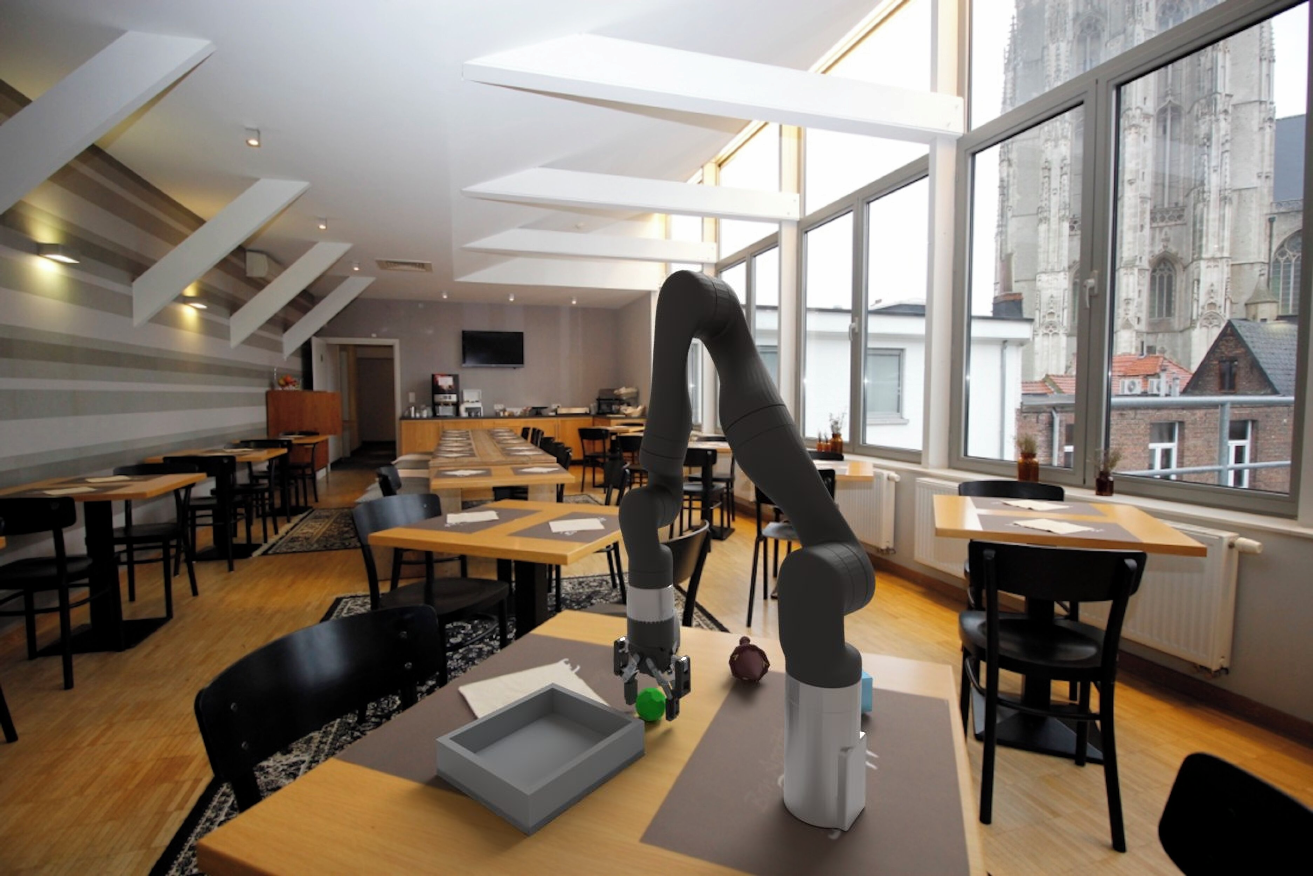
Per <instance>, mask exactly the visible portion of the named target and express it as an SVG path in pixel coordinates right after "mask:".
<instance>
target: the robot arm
mask: <svg viewBox="0 0 1313 876" xmlns="http://www.w3.org/2000/svg"><path fill="white" fill-rule="evenodd" d="M657 296H658V297H657V302H656V306H655V307H656V308H655V316H654V317H655V318H654V332H653V333H654V335H653V349H652V366H651V370H652V372H651V383H650V384H651V385H650V387H651V388H650V397H649V403H648V410H647V414H646V420H645V425H644V429H643V433H642V437H641V438H642V439H641V442H640V447H639V453H638V463H639V465H640V466H641V468H642V469H644V471H646V472H647V482H646V485H644V486H643V485H642V486H639V487H634V488H632V489H629V490H628V491H627V492H625V493H624V495H622V498H621V500H620V503H619V507H618V513H617V514H618V515H617V516H618V523H619V524H618V525H619V528H620V532H621V537H622V541H623V544H624V548H625V551H626V555H627V559H628V561H627V592H626V593H627V594H626V635H625V636H622V637H619V638H617V639H616V640H614V641H613V674H614V676H616V677H620V678H621V680H622V682H623V698H624V700H625V704H626V705H627V706H630V707H631V706H632V705H635V703H636V699H637V696H638V694H639V691H638V689H639V688H638V687H639V686H638V678H637V677H638V675H639V674H643V675H648V676H649V677H650V678H653V679H655V681H656V683H657V685H658V686H659V687H661V688H662V690H663V694H664V695H665V713H664V714H665V715H664V716H665V717H664V719H665V721H667V722H669V723H671V722H672V721H674V720H676V718H677V717H678V716H680V712H681V711H680V708H681V707H680V704H681V703H680V699H682V698H684V697H685V696H687V695H689V694H690V693H691V692H692V684H691V683H692V681H691V679H692V678H691V677H692V676H691V675H692V673H691V672H692V671H691V670H692V669H691V657H690V656H689V655H687V654H685V655H684V656H680V655H676V654H675V653H674V652H673V649H672V645H673V641H674V608H675V590H674V584H673V581H674V580H673V579H674V577H673V576H674V575H673V571H674V568H673V567H674V565H673V564H674V563H673V562H674V561H673V558H674V557H673V553H672V550H671V548H670V547H669V546H667V545H665V544H662V543H661V542H660V537H659V530H660V529H662V528H664V527H668V526H670V525H672V524H673V523H674V522H675V521H676V520H677V519H678V517H679V514H680V513H681V510H682V507H683V502H684V478H685V476H684V464H685V460H686V455H687V451H688V447H689V442H690V438H691V433H692V426H693V408H692V402H691V397H690V392H689V388H688V387H689V385H688V379H687V378H688V377H687V363H688V356H689V351H690V349H691V345H692V341H693V340H694V339H697V340H699V341H701V342H702V344H703V345H704V347H705V349H706V350H707V352H708V354H709V355H710V359H711V360H712V363H713V365H714V367H715V369H716V372H717V376H718V381H719V391H718V393H719V394H718V419H719V425H720V428H721V431H722V433H723V435H724V438H725V440H726V442H727V444H728V447H729V449H730V451H731V453H732V456H733V458H734V460H735V461H736V463H737V466H738V467H739V468H740V470H741V471H742V472H743V474H744V475H745V476H746V477H747V479H749V480H750V481H751V483H752V484H754V485H755V486H756V488H758V489H759V490H760V491H761V492H762V493H763V494H764V495H765V496H766V497H767V498H768V499H769V500H770V501H771V502H772V503H774V505H775V506H776V507H777V508H778V509H779V510H781V512H782V513H783V514H784V516H785V517H786V519H787V520H788V522H789V524H790V525H791V527H792V529H793V531H794V533H795V534H796V537H797V539H798V541H799V543H800V546H801V547H800V548H798V549H795V550H793V551H791V552H789V553H788V554H787V555H786V556H785V557H784V558H783V559H782V562H781V564H780V567H779V570H778V576H777V586H776V594H777V595H776V597H777V598H776V599H777V619H778V620H777V622H778V624H777V625H778V626H777V627H778V638H779V639H778V640H779V644H780V648H781V651H782V653H783V656H784V662H785V663H784V665H785V666H784V669H785V670H784V721H783V722H784V726H783V727H784V732H783V737H784V738H783V739H784V741H783V743H784V744H783V745H784V747H783V784H782V785H783V802H784V805H785V807H786V808H787V810H788V812H790V813H791V814H792V815H793V816H794V817H796V818H797V819H798V820H801V821H802V822H804V823H807V824H809V825H813V826H816V827H821V828H835V829H836V828H837V829H840V830H842V831H845V832H847V831H849V829H850V828H851V827H852V825H853V823H854V822H855V820H856V819H857V817H858V816H859V815H860V814H861V812H862V811H863V809H864V808H865V806H866V778H867V777H866V776H867V775H866V771H867V770H866V769H867V734H866V733H865V732H863V731H861V730H862V729H861V728H862V725H861V724H862V714H861V692H862V669H863V658H862V655H861V652H860V651H859V649H857V648H856V647H855V646H854V645H853V644H851V643H848V642H846V640H845V637H846V636H845V617H846V616H848V615H850V614H851V615H852V614H853V613H856V612H857V611H859V610H862V609H863V608H864V607H866V606H868V604H869V603H870V602H871V601H872V599H873V598H874V596H875V592H876V585H877V584H876V579H877V578H876V575H875V570H874V566H873V564H872V562H871V560H870V557H869V555H868V554H867V552H866V550H865V548H864V546H863V545H862V543H861V542H860V540H859V538H858V537H857V536H856V534H855V533H854V531H853V529H852V528H851V526H850V524H849V523H848V521H847V520H846V518H845V516H844V515H843V513H842V512H841V510H840V509H839V507H838V506H837V504H836V502H835V501H834V499H833V497H832V496H831V494H830V491H829V490H828V487H827V486H826V484H825V481H824V480H823V478H822V476H821V474H820V471H819V470H818V468H817V466H816V464H815V462H814V460H813V458H812V457H811V454H810V453H809V451H808V449H807V446H806V444H805V443H804V441H803V439H802V436H801V433H800V431H799V429H798V427H797V425H796V423H795V421H794V420H793V417H792V415H791V413H790V411H789V409H788V407H787V405H786V403H785V401H784V400H783V398H782V396H781V395H780V392H779V391H778V388H777V386H776V384H775V382H774V380H773V377H772V375H771V374H770V372H769V369H768V367H767V366H766V364H765V362H764V360H763V358H762V356H761V354H760V352H759V349H758V348H757V345H756V342H755V340H754V337H753V334H752V333H751V332H752V331H751V329H750V326H749V323H748V321H747V318H746V315H745V312H744V309H743V306H742V304H741V302H740V300H739V298H738V295H737V293H736V292H735V290H734V289H733V287H732V286H731V285H730V284H729V283H728V282H726V281H725V280H723V279H722V278H719V277H716V276H711V275H708V274H705V273H701V272H698V271H694V270H688V269H680V270H677V271H675V272H673V273H671V274H670V275H669V276H667V278H666V279H665V280H664V281H663V284H662V285H661V287H660V290H659V292H658V295H657ZM629 655H630V656H629ZM630 657H631V660H630V659H629V658H630ZM665 673H666V674H667V676H665V677H664V676H663V675H664V674H665ZM636 678H637V679H636Z"/></svg>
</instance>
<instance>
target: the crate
mask: <svg viewBox="0 0 1313 876" xmlns="http://www.w3.org/2000/svg"><path fill="white" fill-rule="evenodd" d="M645 751H646V750H645V720H644V719H642V718H641V719H640V718H638V717H635V716H634V715H631V714H629V713H626V712H624V711H622V710H619V709H617V708H614V707H612V706H610V705H607V704H605V703H602V702H600V701H598V700H595V699H593V698H591V697H588V696H586V695H583V694H582V693H578V692H576V691H573V690H571V689H569V688H568V687H565V686H561V685H559V684H557V683H554V682H551V683H550V684H548V685H546V686H543V687H541V688H539V689H537V690H535V691H533V692H531V693H529V694H527V695H525V696H523V697H521V698H518V699H517V700H514V701H512V702H510V703H508V704H506V705H504V706H502V707H500V708H497V709H496V710H494V711H492V712H490V713H488V714H486V715H483V716H481V717H480V718H476V719H475V720H473V721H471V722H469V723H467V724H465V725H463V726H461V727H458V728H457V729H454V730H452V731H450V732H449V733H446V734H444V735H441V736H440V737H438V738H436V739H435V755H436V756H435V758H436V762H435V763H436V775H437V777H440V778H441V779H443V780H444V781H446V782H447V783H448V784H449V785H452V786H453V787H454V788H456V789H458V791H461V792H462V793H464V794H465V795H466V796H468V797H470V798H471V799H472V800H475V801H476V803H479V804H480V805H482V806H484V807H485V808H486V809H487V810H490V811H491V812H493V813H494V814H495V815H497V816H498V817H500V818H502V819H503V820H504V821H506V822H507V823H509V824H511V825H512V826H514V827H515V828H517V829H518V830H519V831H521V832H523V833H524V834H526V835H527V836H529V837H531V836H532V835H533V834H534V833H536V832H537V831H539V830H541V829H542V828H543V827H544V826H546V825H547V824H549V823H550V822H552V821H553V820H554V819H556V818H557V817H558V816H560V815H562V814H563V813H564V812H566V811H567V810H568V809H570V808H571V807H573V806H574V805H575V804H577V803H579V801H581V800H582V799H584V798H586V797H587V796H589V794H591V793H593V792H594V791H596V790H597V789H598V788H600V787H601V786H602V785H603V784H605V783H607V782H608V781H609V780H610V779H612V778H614V777H615V776H617V775H618V774H619V773H620V772H622V771H624V770H625V769H626V768H628V767H629V766H631V765H632V764H633V763H635V762H636V761H638V760H639V759H640V758H642V757H643V756H645Z"/></svg>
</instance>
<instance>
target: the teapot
mask: <svg viewBox="0 0 1313 876" xmlns="http://www.w3.org/2000/svg"><path fill="white" fill-rule="evenodd" d="M873 682H874V678H873V677H872V676H871V675H870V674H869V673H868V672H866V671H865V670H864V669H863V668H862V692H861V715H864V713H866V712H872V711H873V687H874V686H873Z"/></svg>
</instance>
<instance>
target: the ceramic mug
mask: <svg viewBox="0 0 1313 876" xmlns="http://www.w3.org/2000/svg"><path fill="white" fill-rule="evenodd" d="M680 647H681V625H680V617H679V612H678V609H677V608H676V607H674V641H673V645H672V649H673V652H674V654H675V653H676V651H677V649H678V648H680Z"/></svg>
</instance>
